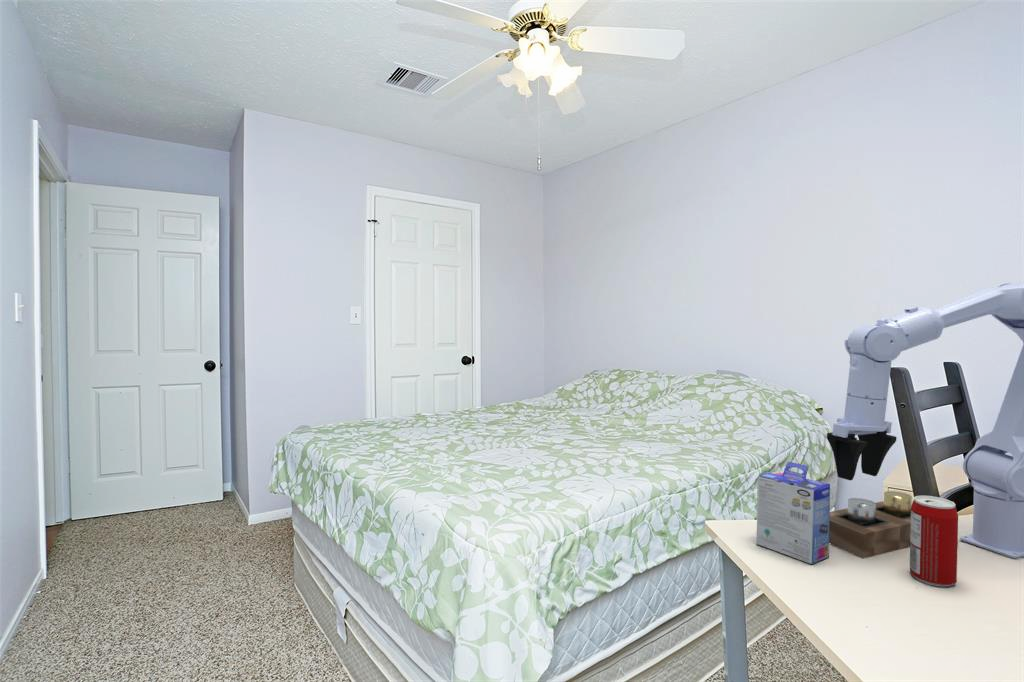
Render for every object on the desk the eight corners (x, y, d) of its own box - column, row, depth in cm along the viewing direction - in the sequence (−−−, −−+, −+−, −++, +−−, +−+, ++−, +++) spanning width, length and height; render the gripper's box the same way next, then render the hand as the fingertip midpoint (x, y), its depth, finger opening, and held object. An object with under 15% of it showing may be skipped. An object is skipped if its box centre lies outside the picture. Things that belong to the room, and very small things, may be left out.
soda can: (966, 586, 78) (968, 504, 78) (933, 589, 78) (935, 507, 77) (931, 568, 84) (933, 491, 83) (900, 571, 83) (901, 494, 82)
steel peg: (858, 517, 96) (859, 496, 96) (881, 525, 92) (881, 504, 92) (842, 520, 95) (842, 499, 94) (864, 529, 91) (864, 507, 91)
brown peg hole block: (892, 519, 103) (893, 499, 103) (945, 538, 95) (945, 515, 94) (814, 537, 96) (814, 514, 96) (863, 558, 88) (863, 534, 87)
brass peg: (893, 509, 99) (894, 490, 99) (916, 517, 95) (917, 496, 95) (878, 513, 98) (878, 492, 98) (901, 521, 94) (901, 500, 94)
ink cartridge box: (831, 557, 88) (832, 469, 88) (813, 566, 85) (814, 475, 84) (773, 536, 96) (773, 456, 96) (755, 544, 93) (755, 461, 93)
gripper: (864, 392, 98) (855, 466, 99) (818, 393, 91) (809, 473, 92) (908, 399, 92) (899, 478, 93) (862, 401, 85) (852, 486, 86)
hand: (857, 476), depth 92 cm, fingers open, 7 cm apart
